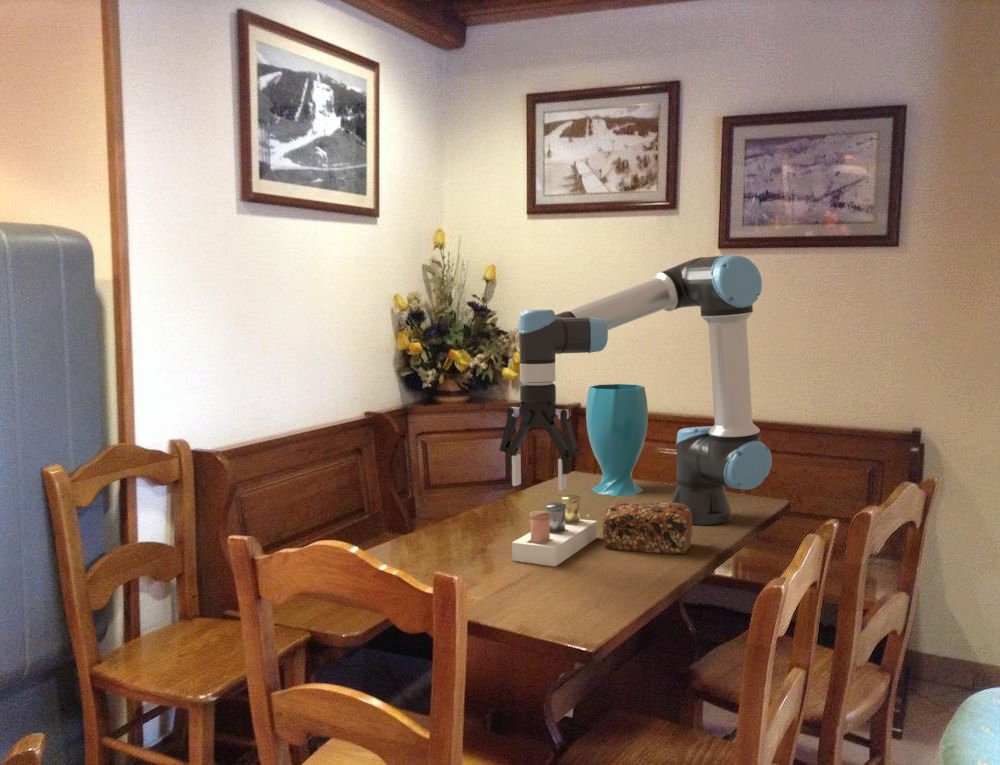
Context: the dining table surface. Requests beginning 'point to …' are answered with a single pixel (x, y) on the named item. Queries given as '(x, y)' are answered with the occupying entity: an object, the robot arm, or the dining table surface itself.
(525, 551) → the slab
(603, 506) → the dining table surface
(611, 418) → the vase
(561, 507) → the grey plug
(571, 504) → the brass plug
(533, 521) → the terracotta plug
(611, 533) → the bread
